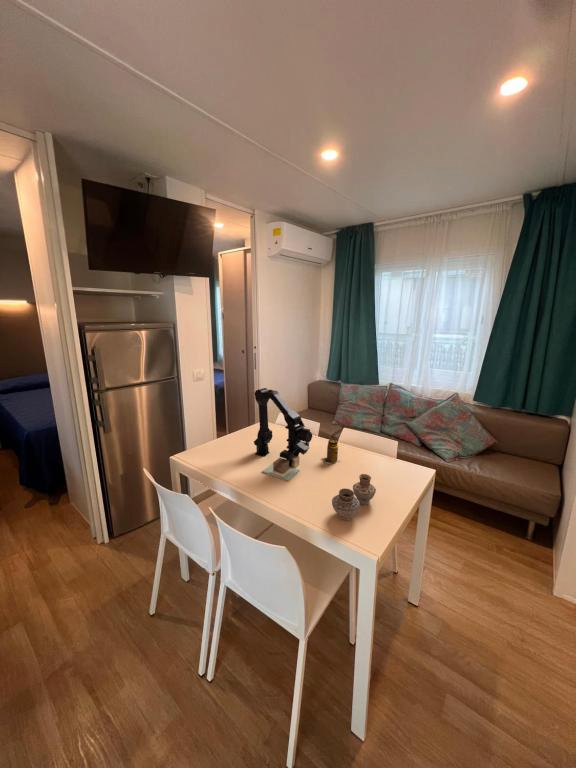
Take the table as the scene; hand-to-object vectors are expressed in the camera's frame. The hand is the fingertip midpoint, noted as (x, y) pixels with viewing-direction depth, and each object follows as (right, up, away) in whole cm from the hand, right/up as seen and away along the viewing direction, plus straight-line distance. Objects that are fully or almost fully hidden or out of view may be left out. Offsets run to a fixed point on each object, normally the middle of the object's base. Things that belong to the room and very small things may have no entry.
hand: (293, 464), depth 164 cm
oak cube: (0, -1, 0) cm, 1 cm away
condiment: (+22, 0, +7) cm, 23 cm away
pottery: (+26, -10, -35) cm, 45 cm away
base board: (-6, -2, -6) cm, 9 cm away
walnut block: (-6, -1, -6) cm, 9 cm away
